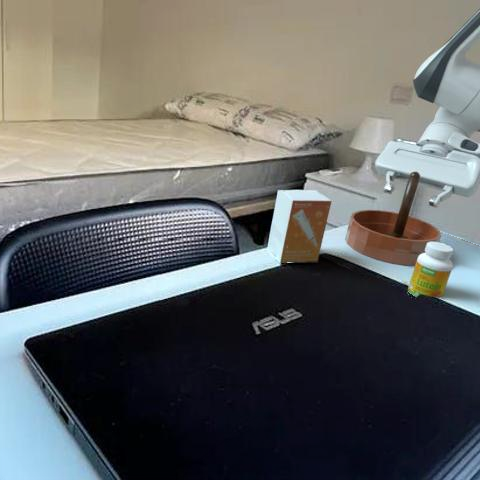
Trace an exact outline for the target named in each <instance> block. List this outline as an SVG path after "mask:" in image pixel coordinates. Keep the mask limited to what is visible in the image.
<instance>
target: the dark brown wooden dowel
mask: <svg viewBox="0 0 480 480" xmlns="http://www.w3.org/2000/svg"><path fill="white" fill-rule="evenodd" d="M419 179H420V174H419V173H418V172H412V173H411V174H410V175H409V179H408V182H407V181H406V182H407V183H406V186H405V190H404V193H403V196H402V200H401V204H400V207H399V211H398V213H399V214H398V217H397V221H396V224H395V228H394V231H393V233H385V234H384V235H387V236H392V237H396V238H402V239H409V238H408V237H406V236H404V235H403V234H404V230H405V227H406V224H407V220H408V217H409V216H410V214H411V210H412V206H413V203H414V200H415V196H416V193H417V189H418V186H419V185H418V183H419ZM409 240H410V239H409Z"/></svg>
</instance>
